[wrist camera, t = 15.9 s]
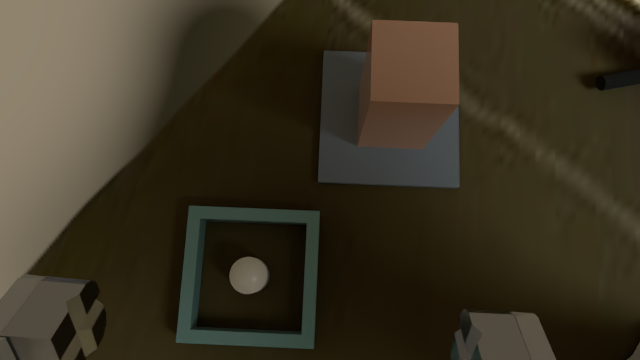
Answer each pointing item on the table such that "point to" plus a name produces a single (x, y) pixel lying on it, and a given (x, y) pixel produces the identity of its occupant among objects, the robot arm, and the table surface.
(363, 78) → the brown tall block
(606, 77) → the handheld radio
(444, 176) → the rubber mat
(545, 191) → the table surface
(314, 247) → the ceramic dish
